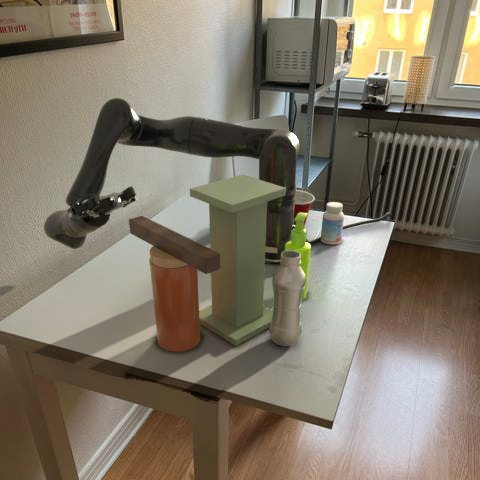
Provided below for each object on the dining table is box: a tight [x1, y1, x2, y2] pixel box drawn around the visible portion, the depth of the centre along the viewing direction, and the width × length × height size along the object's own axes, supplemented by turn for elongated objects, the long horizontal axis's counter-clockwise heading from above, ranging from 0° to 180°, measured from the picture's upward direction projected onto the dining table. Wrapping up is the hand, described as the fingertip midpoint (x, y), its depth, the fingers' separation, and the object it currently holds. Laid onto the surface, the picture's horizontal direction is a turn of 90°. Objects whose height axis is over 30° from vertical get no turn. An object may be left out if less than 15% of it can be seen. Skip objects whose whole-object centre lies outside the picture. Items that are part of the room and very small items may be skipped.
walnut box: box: [128, 215, 220, 275], centre depth 92 cm, size 24×3×3 cm, turn 43°
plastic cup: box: [293, 189, 316, 230], centre depth 148 cm, size 11×11×12 cm
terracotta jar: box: [148, 245, 201, 352], centre depth 98 cm, size 9×9×20 cm
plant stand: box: [189, 174, 286, 346], centre depth 102 cm, size 14×14×30 cm
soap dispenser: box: [285, 212, 312, 301], centre depth 114 cm, size 6×7×20 cm
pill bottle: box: [320, 201, 345, 245], centre depth 144 cm, size 6×6×11 cm
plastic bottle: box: [268, 250, 306, 347], centre depth 98 cm, size 6×7×20 cm
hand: (115, 195), depth 101 cm, fingers open, 8 cm apart
